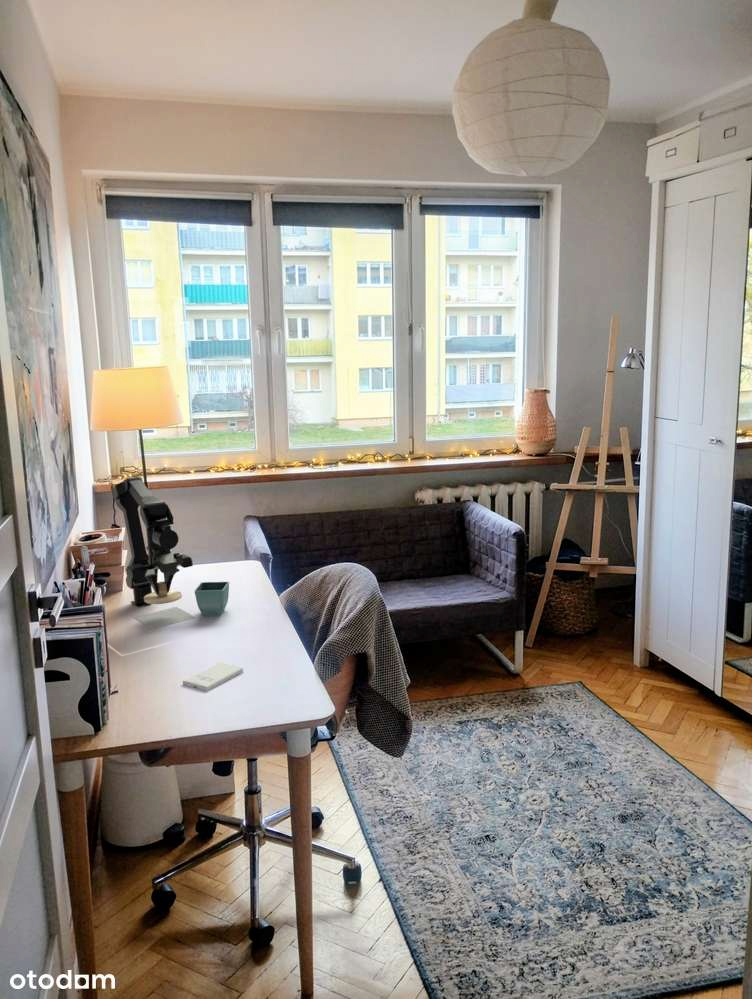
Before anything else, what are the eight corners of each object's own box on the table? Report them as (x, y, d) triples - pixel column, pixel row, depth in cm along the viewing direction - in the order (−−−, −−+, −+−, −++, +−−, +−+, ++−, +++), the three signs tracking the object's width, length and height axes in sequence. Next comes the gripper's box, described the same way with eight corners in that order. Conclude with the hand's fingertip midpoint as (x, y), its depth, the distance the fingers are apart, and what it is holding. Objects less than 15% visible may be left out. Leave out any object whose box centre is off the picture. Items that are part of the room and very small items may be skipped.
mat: (133, 618, 236) (133, 617, 236) (176, 607, 244) (176, 606, 244) (151, 630, 225) (151, 628, 225) (196, 618, 234) (196, 617, 234)
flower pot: (225, 618, 233) (223, 589, 231) (196, 619, 233) (193, 590, 231) (231, 609, 241) (229, 581, 240) (203, 609, 242) (201, 582, 240)
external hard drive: (243, 673, 193) (207, 692, 183) (219, 667, 197) (182, 686, 187) (243, 667, 193) (206, 686, 182) (218, 661, 197) (182, 679, 187)
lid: (138, 598, 234) (136, 583, 234) (172, 590, 241) (171, 575, 240) (152, 606, 226) (150, 590, 225) (187, 598, 232) (186, 582, 232)
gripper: (137, 553, 218) (142, 606, 221) (198, 542, 230) (202, 592, 233) (122, 547, 227) (128, 598, 230) (182, 536, 238) (187, 584, 241)
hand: (162, 593), depth 233 cm, fingers closed on lid, 3 cm apart
